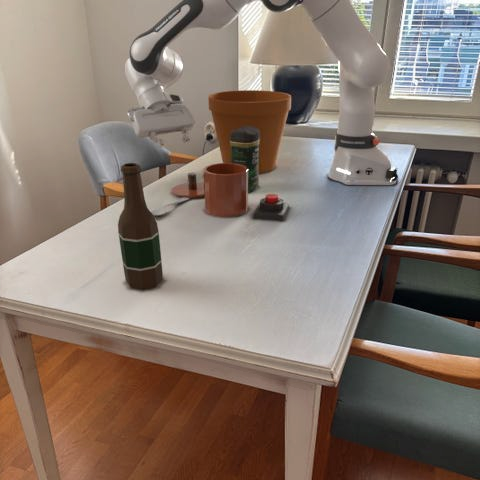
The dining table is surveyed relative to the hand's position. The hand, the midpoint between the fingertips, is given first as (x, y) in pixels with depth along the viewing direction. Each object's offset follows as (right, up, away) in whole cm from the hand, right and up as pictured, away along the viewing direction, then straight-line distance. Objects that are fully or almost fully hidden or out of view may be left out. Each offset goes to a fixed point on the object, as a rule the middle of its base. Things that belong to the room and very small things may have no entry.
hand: (174, 143), depth 150 cm
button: (+29, -22, -17) cm, 40 cm away
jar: (+17, -23, -13) cm, 31 cm away
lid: (+6, -14, 0) cm, 15 cm away
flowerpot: (+24, +1, +26) cm, 35 cm away
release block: (+29, -25, -15) cm, 41 cm away
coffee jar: (+22, -13, +4) cm, 26 cm away
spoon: (+1, -23, -11) cm, 25 cm away
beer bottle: (+1, -47, -49) cm, 68 cm away
